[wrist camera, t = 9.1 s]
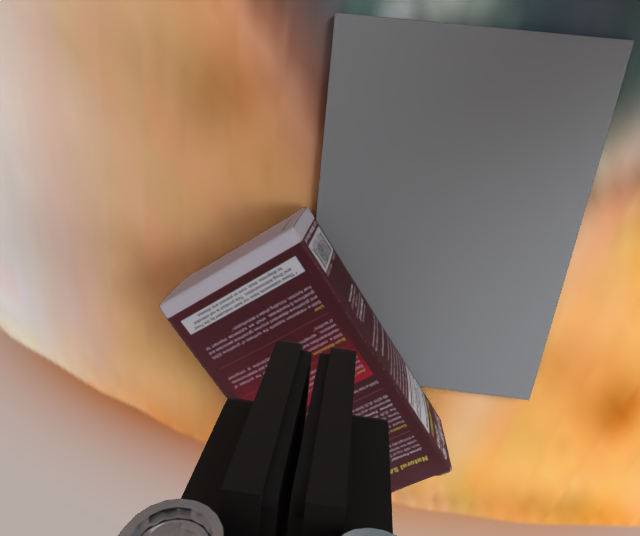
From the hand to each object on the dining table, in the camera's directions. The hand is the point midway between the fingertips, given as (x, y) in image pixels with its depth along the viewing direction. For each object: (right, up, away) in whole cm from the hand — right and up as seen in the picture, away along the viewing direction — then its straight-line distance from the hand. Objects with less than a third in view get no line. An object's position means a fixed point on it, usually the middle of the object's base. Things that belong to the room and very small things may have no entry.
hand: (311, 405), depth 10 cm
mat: (+7, +5, +17) cm, 19 cm away
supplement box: (-4, +4, +15) cm, 16 cm away
